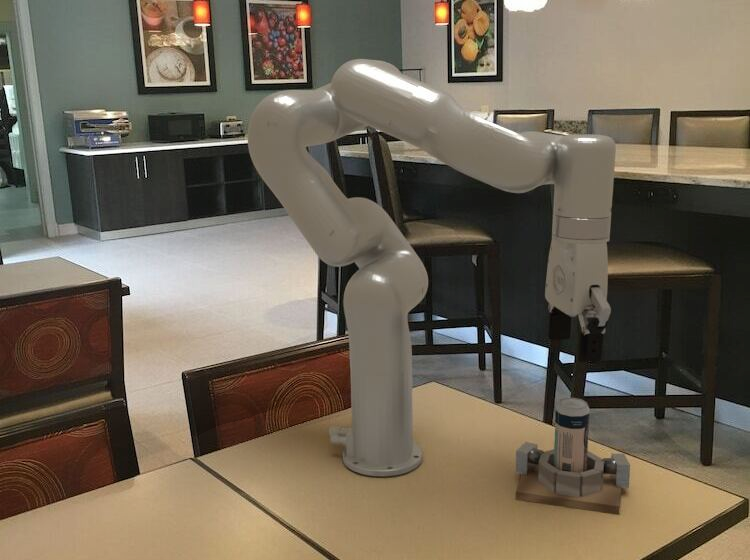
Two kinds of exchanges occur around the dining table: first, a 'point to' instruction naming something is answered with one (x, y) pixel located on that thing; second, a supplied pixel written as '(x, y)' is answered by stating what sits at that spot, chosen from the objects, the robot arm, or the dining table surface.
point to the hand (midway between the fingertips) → (573, 349)
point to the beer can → (571, 435)
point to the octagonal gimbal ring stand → (570, 486)
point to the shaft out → (618, 470)
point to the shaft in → (527, 458)
